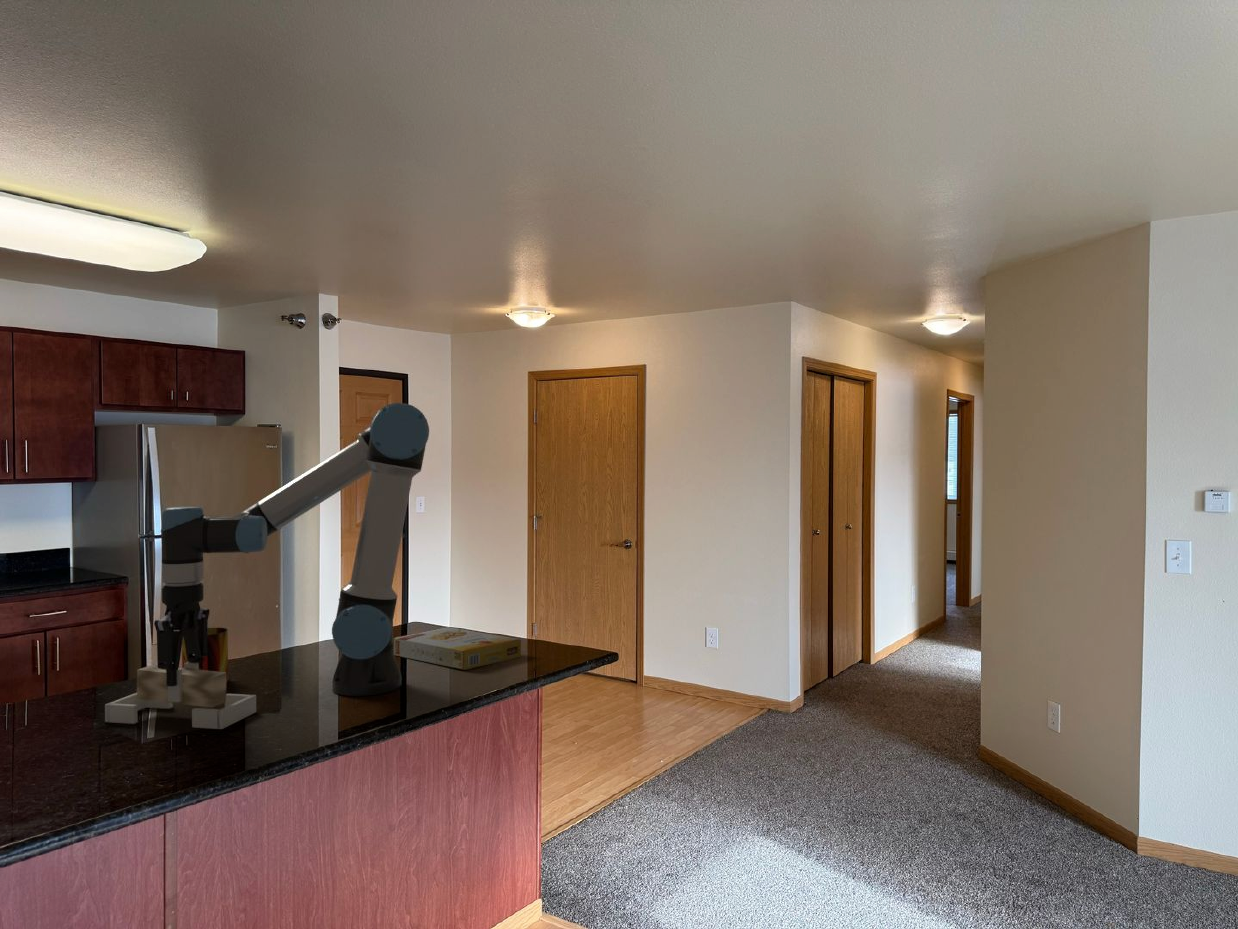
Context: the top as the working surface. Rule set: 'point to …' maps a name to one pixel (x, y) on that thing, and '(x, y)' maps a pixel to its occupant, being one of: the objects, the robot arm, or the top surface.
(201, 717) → the tray
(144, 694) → the wooden block
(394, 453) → the robot arm
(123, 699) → the endcap far
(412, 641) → the cereal box
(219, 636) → the mug
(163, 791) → the top surface
